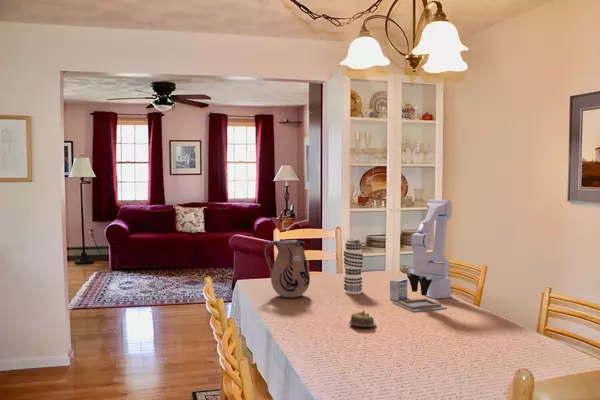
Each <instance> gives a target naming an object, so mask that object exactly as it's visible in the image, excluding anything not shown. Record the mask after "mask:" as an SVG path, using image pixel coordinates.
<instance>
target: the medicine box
mask: <svg viewBox="0 0 600 400" xmlns="http://www.w3.org/2000/svg"><path fill="white" fill-rule="evenodd" d="M407 299H408V278H407V279H406V278H397V279H393V280H389V300H391V301H393V302H398V301H402V300H407Z"/></svg>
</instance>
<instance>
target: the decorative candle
mask: <svg viewBox="0 0 600 400" xmlns="http://www.w3.org/2000/svg"><path fill="white" fill-rule="evenodd" d="M344 243H345V248H344V250H343V256H344V258H343V260H344V261H343V263H344V277H343V282H344V283H343V286H344V287H343V292H344V294H349V295H353V294H354V295H359V294H361V293H363V291H362V290H363V288H362V287H363V284H362V283H363V281H362V280H363V277H362V269H363V265H362V264H363V262H362V260H364V258H363V256H364V255H363V254H362V252H363V251H362V244H363V242H362V241H361V240H360V239H359V238H348V239H346V241H345V242H344Z"/></svg>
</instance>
